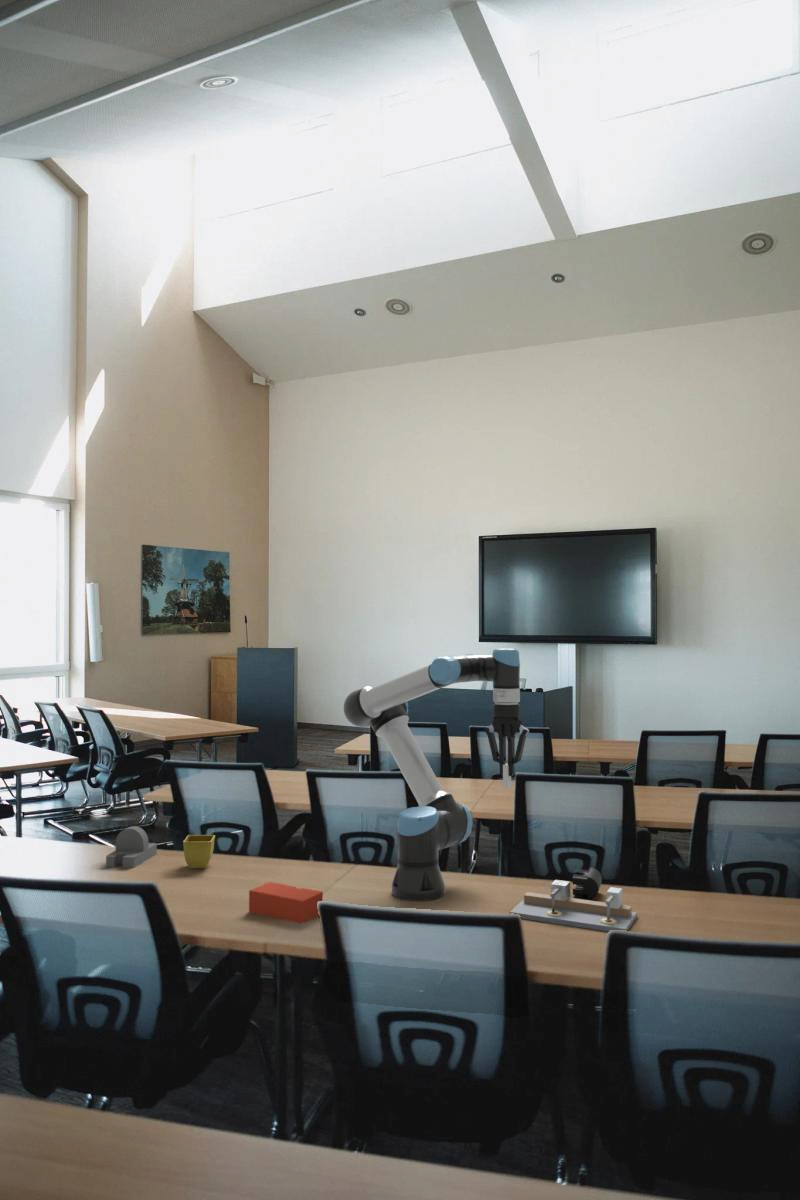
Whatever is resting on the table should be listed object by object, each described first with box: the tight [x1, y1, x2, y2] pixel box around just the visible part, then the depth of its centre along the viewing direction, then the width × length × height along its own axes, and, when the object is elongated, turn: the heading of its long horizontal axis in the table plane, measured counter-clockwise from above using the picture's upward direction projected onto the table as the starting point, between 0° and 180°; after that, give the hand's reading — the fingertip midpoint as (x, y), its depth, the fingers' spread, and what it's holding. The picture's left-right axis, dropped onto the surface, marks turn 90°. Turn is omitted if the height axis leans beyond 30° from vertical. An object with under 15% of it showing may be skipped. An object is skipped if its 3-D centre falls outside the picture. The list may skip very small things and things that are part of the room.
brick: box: [248, 881, 324, 924], centre depth 234 cm, size 18×9×6 cm, turn 59°
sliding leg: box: [549, 879, 571, 912], centre depth 232 cm, size 4×10×6 cm, turn 154°
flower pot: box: [182, 834, 216, 869], centre depth 278 cm, size 9×9×9 cm
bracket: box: [105, 825, 158, 869], centre depth 287 cm, size 10×18×11 cm, turn 171°
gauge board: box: [509, 886, 638, 932], centre depth 230 cm, size 30×14×7 cm, turn 64°
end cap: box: [572, 867, 603, 901], centre depth 247 cm, size 10×7×7 cm
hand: (507, 787), depth 248 cm, fingers closed
